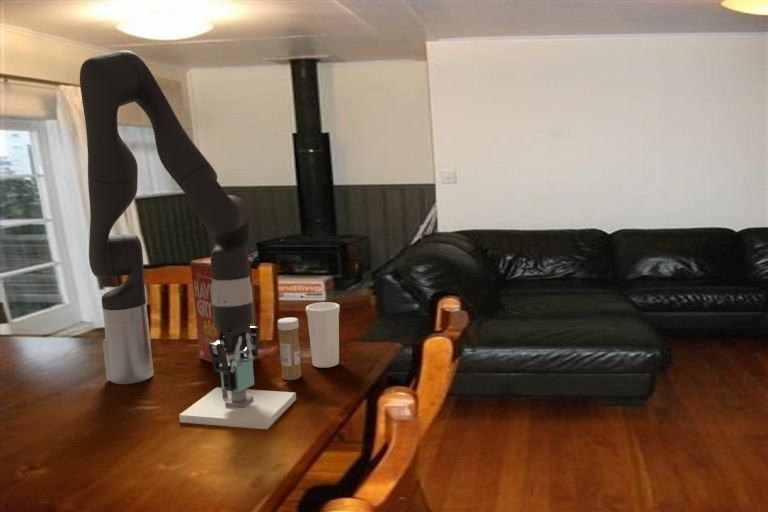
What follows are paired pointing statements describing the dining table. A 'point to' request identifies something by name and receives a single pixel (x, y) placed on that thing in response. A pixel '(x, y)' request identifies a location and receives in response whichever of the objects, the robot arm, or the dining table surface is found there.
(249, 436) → the dining table surface
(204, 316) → the food packaging
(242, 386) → the mint cube with tab
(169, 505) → the dining table surface
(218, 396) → the stud board
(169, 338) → the dining table surface
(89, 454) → the dining table surface
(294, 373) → the sprinkles bottle
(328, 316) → the cup
